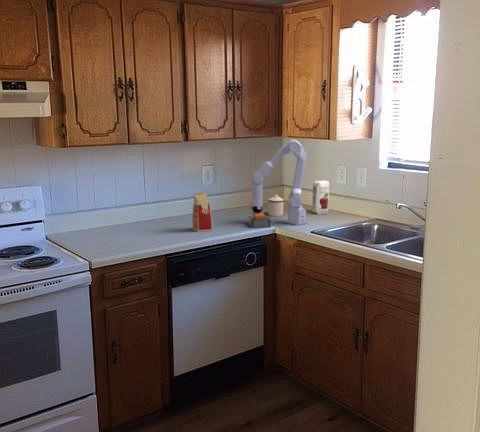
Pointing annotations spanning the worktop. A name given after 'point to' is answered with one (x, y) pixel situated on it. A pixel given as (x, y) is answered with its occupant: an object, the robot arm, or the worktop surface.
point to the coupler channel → (259, 222)
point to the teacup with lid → (275, 206)
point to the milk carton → (201, 213)
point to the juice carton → (320, 197)
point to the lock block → (258, 216)
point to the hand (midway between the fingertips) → (256, 220)
